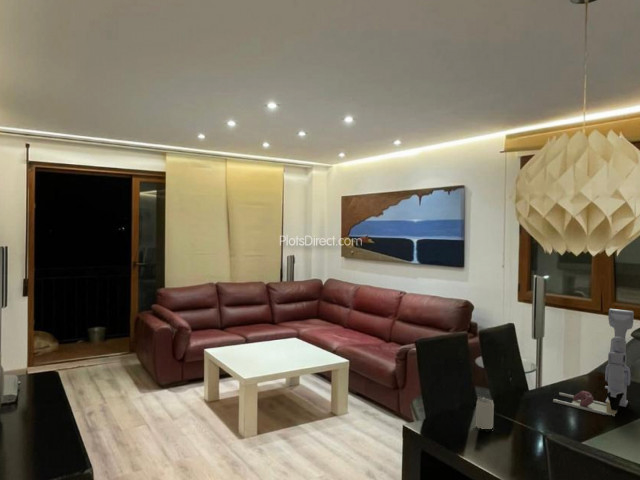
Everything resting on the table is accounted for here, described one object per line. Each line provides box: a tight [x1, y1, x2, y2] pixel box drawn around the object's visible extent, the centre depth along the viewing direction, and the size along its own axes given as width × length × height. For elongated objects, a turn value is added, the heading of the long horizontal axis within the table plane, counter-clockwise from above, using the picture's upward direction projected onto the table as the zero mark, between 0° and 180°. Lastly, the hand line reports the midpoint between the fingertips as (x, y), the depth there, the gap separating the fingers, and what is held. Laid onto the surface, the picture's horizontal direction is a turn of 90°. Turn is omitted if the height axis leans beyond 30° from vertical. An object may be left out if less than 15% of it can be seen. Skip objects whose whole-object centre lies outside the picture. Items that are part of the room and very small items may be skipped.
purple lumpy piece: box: [572, 390, 595, 407], centre depth 202 cm, size 10×5×7 cm, turn 169°
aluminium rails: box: [552, 392, 607, 416], centre depth 203 cm, size 13×21×1 cm, turn 50°
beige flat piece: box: [571, 399, 619, 417], centre depth 200 cm, size 10×17×4 cm, turn 50°
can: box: [475, 396, 495, 429], centre depth 173 cm, size 6×6×12 cm
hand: (614, 409), depth 195 cm, fingers closed on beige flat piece, 3 cm apart
